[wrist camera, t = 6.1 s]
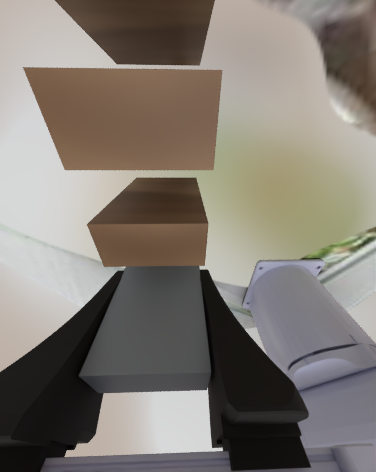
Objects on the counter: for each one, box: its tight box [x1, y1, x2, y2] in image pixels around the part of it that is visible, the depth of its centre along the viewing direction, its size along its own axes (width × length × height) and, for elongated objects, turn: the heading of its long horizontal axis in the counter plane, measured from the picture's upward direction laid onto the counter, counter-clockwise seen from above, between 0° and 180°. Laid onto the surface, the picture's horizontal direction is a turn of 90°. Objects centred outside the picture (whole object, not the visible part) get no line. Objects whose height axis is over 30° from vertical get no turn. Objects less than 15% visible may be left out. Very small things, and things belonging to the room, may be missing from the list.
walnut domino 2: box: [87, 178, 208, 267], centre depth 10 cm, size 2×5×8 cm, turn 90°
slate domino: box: [79, 266, 211, 393], centre depth 10 cm, size 2×5×8 cm, turn 90°
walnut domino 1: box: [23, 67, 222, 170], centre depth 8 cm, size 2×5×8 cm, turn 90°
